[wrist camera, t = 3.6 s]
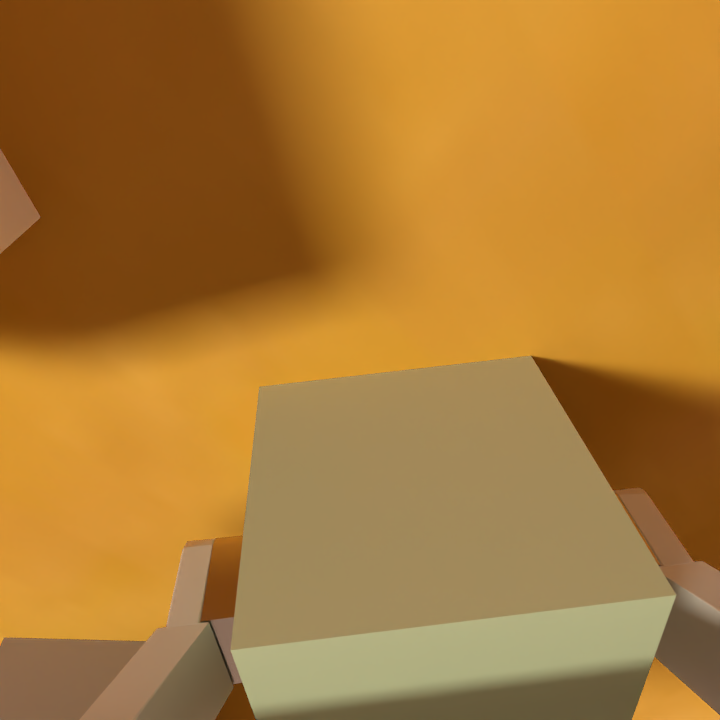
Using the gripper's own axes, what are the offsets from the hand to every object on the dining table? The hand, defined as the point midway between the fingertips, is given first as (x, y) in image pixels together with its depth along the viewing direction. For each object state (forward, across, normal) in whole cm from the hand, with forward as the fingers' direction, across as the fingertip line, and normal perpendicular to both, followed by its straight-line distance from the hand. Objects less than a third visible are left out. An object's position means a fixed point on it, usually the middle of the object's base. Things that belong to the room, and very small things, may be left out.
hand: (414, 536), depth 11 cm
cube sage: (+2, 0, 0) cm, 2 cm away
